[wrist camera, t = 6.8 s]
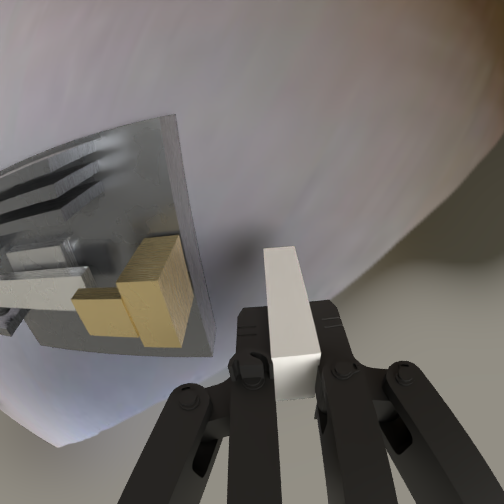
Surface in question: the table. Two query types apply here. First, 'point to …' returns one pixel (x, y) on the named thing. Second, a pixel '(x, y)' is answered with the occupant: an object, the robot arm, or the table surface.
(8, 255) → the heatsink base
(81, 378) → the table surface
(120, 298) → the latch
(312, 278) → the table surface
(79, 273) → the strap
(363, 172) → the table surface
